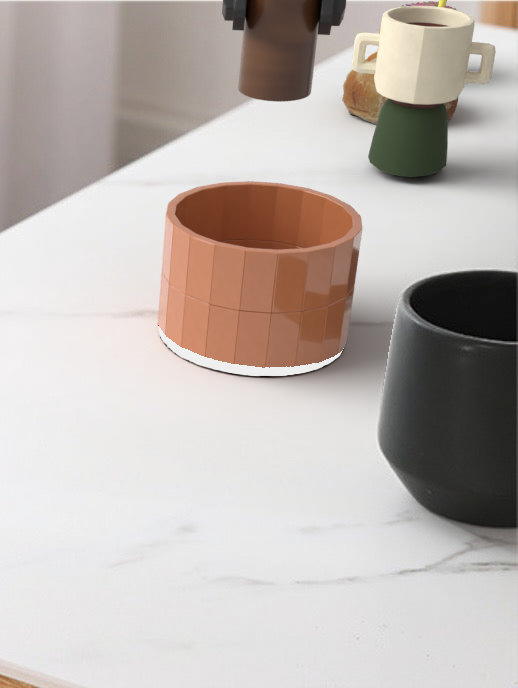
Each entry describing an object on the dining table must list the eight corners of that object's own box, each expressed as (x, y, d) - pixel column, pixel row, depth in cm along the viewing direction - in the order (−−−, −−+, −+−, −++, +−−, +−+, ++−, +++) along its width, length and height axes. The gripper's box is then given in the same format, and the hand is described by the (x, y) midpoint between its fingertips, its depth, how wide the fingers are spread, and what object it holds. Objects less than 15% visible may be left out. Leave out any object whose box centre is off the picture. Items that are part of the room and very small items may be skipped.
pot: (342, 304, 108) (358, 187, 104) (348, 385, 97) (366, 259, 93) (164, 290, 110) (172, 175, 106) (151, 368, 100) (160, 244, 96)
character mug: (476, 165, 132) (502, 11, 126) (470, 193, 126) (498, 33, 120) (344, 150, 135) (363, -1, 129) (333, 177, 130) (352, 21, 123)
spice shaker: (310, 82, 98) (326, -57, 94) (311, 103, 94) (327, -40, 90) (239, 78, 99) (251, -59, 95) (237, 99, 95) (249, -43, 91)
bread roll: (352, 163, 143) (378, 98, 136) (319, 86, 149) (343, 20, 142) (455, 157, 144) (485, 91, 138) (418, 80, 150) (446, 14, 144)
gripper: (188, -262, 95) (160, -14, 90) (433, -259, 92) (416, -2, 88) (186, -183, 102) (160, 51, 97) (413, -177, 99) (398, 64, 95)
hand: (282, 24), depth 93 cm, fingers closed on spice shaker, 4 cm apart
